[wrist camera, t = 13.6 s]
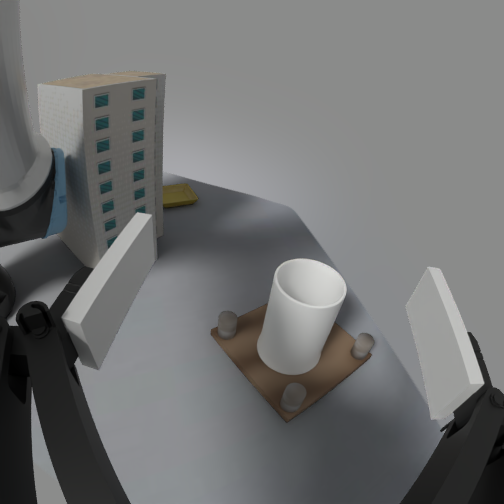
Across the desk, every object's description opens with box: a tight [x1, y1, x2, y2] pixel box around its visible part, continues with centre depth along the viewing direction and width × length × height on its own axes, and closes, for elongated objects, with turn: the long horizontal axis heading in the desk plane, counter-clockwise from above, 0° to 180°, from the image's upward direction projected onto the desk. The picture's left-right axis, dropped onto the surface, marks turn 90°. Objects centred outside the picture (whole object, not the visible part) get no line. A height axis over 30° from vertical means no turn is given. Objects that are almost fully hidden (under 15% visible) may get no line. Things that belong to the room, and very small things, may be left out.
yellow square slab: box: [162, 184, 198, 208], centre depth 72 cm, size 9×9×2 cm
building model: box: [38, 71, 166, 268], centre depth 49 cm, size 20×16×30 cm
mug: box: [257, 259, 347, 375], centre depth 39 cm, size 12×8×12 cm
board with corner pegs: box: [211, 303, 374, 422], centre depth 42 cm, size 16×16×4 cm
